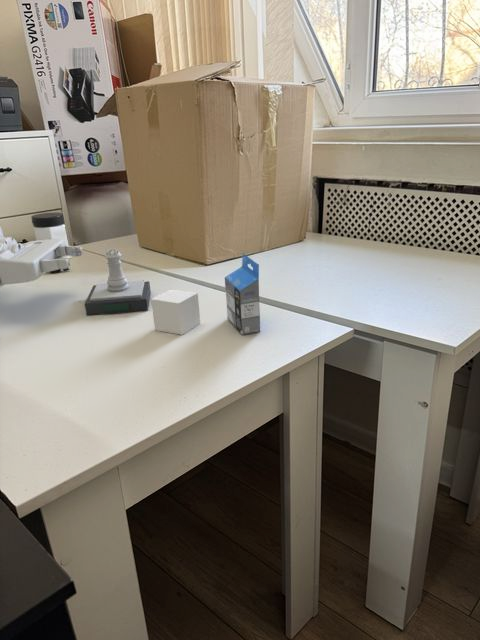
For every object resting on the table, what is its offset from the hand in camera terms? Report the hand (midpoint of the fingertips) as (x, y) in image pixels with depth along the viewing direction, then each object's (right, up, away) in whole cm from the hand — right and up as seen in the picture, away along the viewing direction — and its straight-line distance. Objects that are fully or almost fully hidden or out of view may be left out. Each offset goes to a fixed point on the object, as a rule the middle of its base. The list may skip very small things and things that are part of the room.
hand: (75, 256), depth 102 cm
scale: (+8, -9, +5) cm, 13 cm away
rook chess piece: (+8, -6, +4) cm, 10 cm away
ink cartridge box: (+34, -14, -8) cm, 38 cm away
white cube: (+22, -15, -8) cm, 27 cm away
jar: (-20, +7, +41) cm, 46 cm away
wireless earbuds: (-16, +2, +30) cm, 34 cm away
